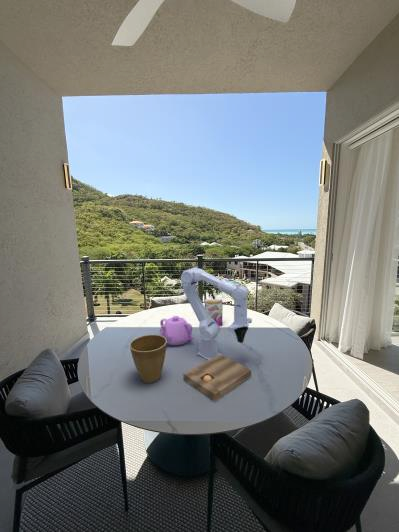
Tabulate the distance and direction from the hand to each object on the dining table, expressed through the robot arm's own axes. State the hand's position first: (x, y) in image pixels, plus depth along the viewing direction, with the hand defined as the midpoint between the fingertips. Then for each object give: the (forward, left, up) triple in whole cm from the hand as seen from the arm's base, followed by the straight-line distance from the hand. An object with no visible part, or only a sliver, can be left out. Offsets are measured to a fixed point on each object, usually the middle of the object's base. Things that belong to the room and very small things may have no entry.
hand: (240, 341), depth 116 cm
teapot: (-38, -9, -11) cm, 41 cm away
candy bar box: (-39, +23, -11) cm, 47 cm away
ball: (+1, -22, -9) cm, 23 cm away
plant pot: (-19, -36, -11) cm, 42 cm away
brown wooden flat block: (+1, -16, -10) cm, 19 cm away
